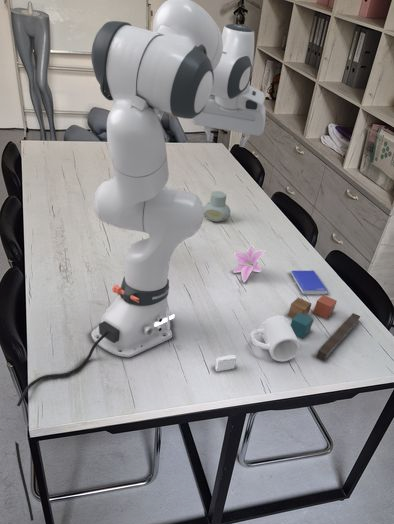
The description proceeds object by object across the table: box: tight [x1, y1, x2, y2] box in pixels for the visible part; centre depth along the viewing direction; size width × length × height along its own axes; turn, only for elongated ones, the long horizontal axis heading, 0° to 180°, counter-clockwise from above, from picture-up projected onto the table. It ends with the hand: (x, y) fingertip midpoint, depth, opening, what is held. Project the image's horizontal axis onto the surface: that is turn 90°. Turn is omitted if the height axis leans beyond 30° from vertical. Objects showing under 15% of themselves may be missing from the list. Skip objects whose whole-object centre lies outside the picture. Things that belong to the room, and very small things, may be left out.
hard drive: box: [290, 270, 328, 295], centre depth 160 cm, size 2×8×12 cm
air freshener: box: [203, 190, 232, 223], centre depth 190 cm, size 11×8×10 cm
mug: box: [249, 315, 301, 362], centre depth 129 cm, size 12×10×8 cm
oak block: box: [287, 297, 312, 319], centre depth 144 cm, size 4×4×4 cm
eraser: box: [214, 354, 237, 372], centre depth 123 cm, size 1×5×4 cm, turn 110°
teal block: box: [290, 313, 314, 339], centre depth 138 cm, size 4×4×4 cm
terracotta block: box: [313, 294, 338, 320], centre depth 147 cm, size 4×4×4 cm
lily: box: [233, 243, 266, 284], centre depth 159 cm, size 12×12×10 cm
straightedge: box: [316, 312, 361, 362], centre depth 138 cm, size 24×2×2 cm, turn 143°
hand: (226, 143), depth 140 cm, fingers open, 8 cm apart
